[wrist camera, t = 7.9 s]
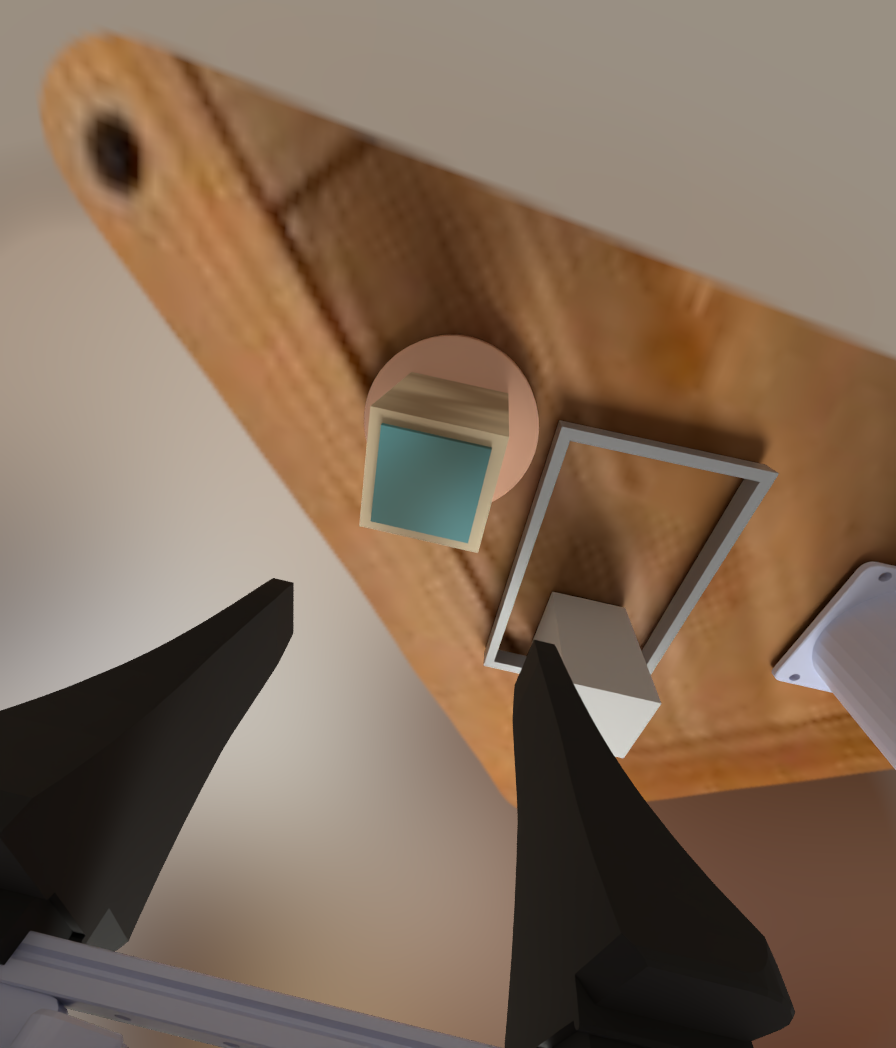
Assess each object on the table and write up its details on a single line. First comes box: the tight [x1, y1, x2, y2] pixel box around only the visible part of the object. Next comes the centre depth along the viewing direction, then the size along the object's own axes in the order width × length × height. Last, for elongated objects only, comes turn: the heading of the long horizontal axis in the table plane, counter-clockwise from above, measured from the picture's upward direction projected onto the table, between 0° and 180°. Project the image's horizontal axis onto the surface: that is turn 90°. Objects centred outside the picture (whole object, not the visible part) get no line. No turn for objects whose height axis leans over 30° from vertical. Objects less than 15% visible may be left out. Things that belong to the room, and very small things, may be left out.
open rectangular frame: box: [484, 420, 779, 675], centre depth 21 cm, size 9×14×1 cm, turn 170°
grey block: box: [532, 592, 661, 758], centre depth 21 cm, size 4×4×6 cm
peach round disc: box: [364, 334, 539, 502], centre depth 18 cm, size 8×8×1 cm
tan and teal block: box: [359, 372, 509, 553], centre depth 15 cm, size 4×4×6 cm
